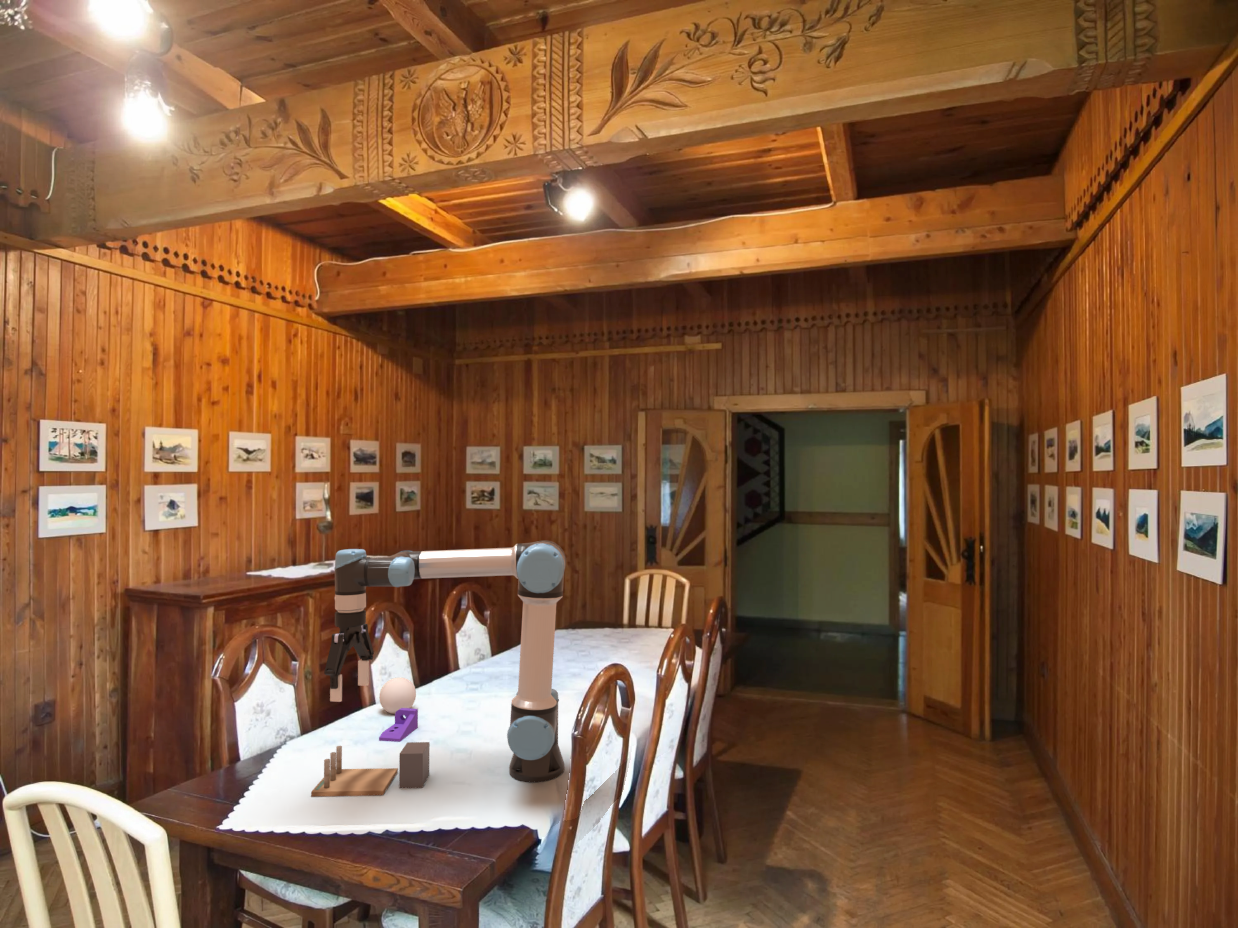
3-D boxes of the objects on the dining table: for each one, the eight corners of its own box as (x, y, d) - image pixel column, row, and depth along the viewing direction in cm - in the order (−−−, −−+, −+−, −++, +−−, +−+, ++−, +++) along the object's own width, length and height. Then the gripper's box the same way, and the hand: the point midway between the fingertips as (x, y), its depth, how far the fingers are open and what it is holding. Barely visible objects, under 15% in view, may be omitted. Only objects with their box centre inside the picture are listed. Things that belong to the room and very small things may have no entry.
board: (397, 772, 197) (397, 742, 197) (383, 795, 183) (383, 762, 183) (330, 773, 196) (331, 743, 196) (311, 796, 182) (311, 763, 182)
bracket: (397, 728, 232) (398, 707, 232) (417, 730, 230) (417, 708, 230) (378, 742, 220) (379, 719, 220) (399, 743, 219) (399, 721, 219)
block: (429, 775, 195) (429, 741, 195) (422, 787, 187) (422, 753, 187) (406, 775, 195) (407, 742, 195) (399, 788, 187) (399, 753, 187)
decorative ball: (415, 706, 253) (415, 672, 254) (416, 716, 242) (416, 681, 242) (379, 709, 250) (379, 674, 250) (379, 720, 238) (379, 684, 239)
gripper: (361, 601, 197) (361, 678, 197) (309, 618, 173) (308, 707, 172) (386, 601, 196) (386, 679, 196) (338, 619, 172) (337, 708, 171)
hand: (350, 692), depth 184 cm, fingers open, 13 cm apart
